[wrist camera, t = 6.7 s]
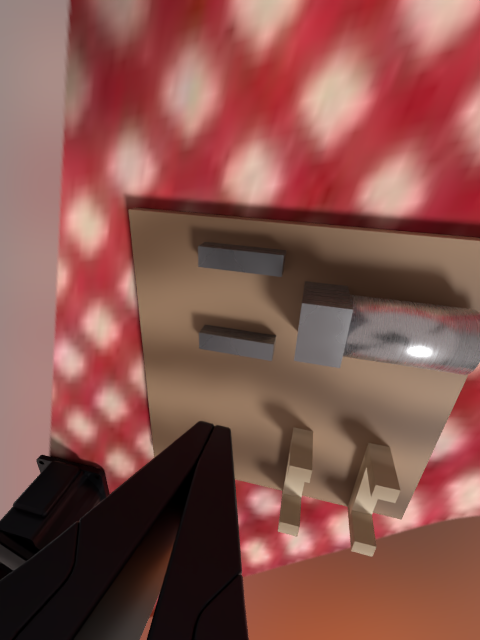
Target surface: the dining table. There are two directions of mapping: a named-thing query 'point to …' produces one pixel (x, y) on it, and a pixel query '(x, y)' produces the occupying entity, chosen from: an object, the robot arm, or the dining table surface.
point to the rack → (369, 487)
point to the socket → (247, 262)
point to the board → (294, 345)
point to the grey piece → (385, 331)
